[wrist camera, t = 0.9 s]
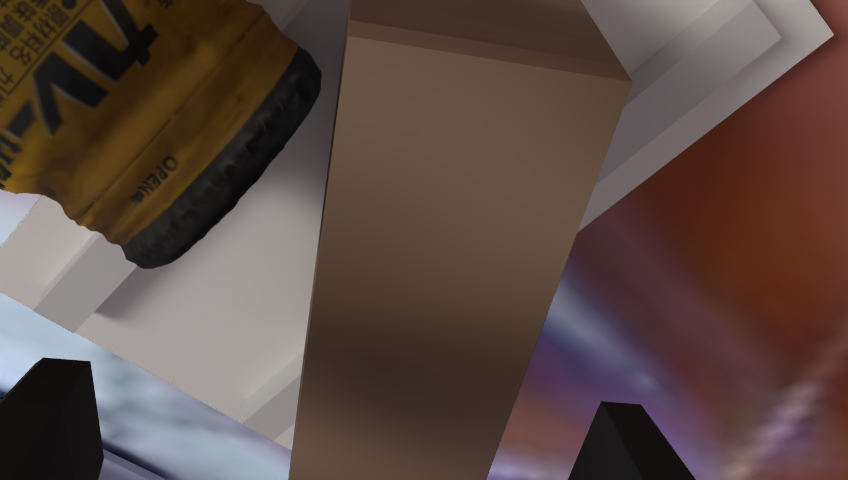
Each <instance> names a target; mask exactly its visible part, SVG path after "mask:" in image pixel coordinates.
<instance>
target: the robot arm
mask: <svg viewBox="0 0 848 480" xmlns="http://www.w3.org/2000/svg"><path fill="white" fill-rule="evenodd" d="M0 480H165V479H164V478H162V477H160V476H158V475H156V474H154V473H152V472H150V471H148V470H146V469H144V468H141V467H139V466H137V465H135V464H133V463H131V462H129V461H127V460H125V459H123V458H121V457H119V456H116V455H114V454H112V453H110V452H108V451H106V450H104V449H103V447H102V440H101V433H100V426H99V419H98V412H97V405H96V398H95V391H94V384H93V377H92V370H91V362H90V361H78V360H66V359H53V358H42V359H41V360H40V361H38V362H37V363H35V364H34V366H33V367H32V368H31V369H30V370H29V371H28V372H27V373H26V374H25V375H24V376H23V377H22V378H21V379H20V380H19V381H18V382H17V384H16V385H15V386H14V387H13V388H12V389H11V390H10V391H9V392H8V393H7V394H6V395H5V396H4V397H3V398H2V399H1V400H0ZM568 480H696V479H695V478H694V476H693V475H692V474H691V472H690V471H689V470H688V468H687V467H686V466H685V464H684V463H683V462H682V460H681V459H680V457H679V456H678V455H677V453H676V452H675V451H674V449H673V448H672V446H671V445H670V444H669V442H668V441H667V440H666V438H665V437H664V435H663V434H662V433H661V431H660V430H659V429H658V427H657V426H656V425H655V423H654V422H653V420H652V419H651V418H650V416H649V415H648V414H647V412H646V411H645V410H644V408H643V407H642V406H641V405H640V404H627V403H615V402H602V401H601V403H600V405H599V407H598V410H597V412H596V414H595V417H594V419H593V422H592V424H591V426H590V429H589V431H588V433H587V436H586V438H585V440H584V443H583V445H582V448H581V450H580V452H579V455H578V457H577V459H576V462H575V464H574V466H573V469H572V471H571V474H570V476H569V478H568Z"/></svg>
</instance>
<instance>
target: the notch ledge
mask: <svg viewBox="0 0 848 480" xmlns="http://www.w3.org/2000/svg"><path fill="white" fill-rule="evenodd" d="M246 1H248V2H251V3H254V4H260V5H261V6H262V7H263V8H264V10H265V11H266V12H267V13H269V14H270V17H271V19H272V21H273V22H274V24H275V25H276V26H277V27H278V28H279V30H280V31H281V32H282V33H283V34H284V35H285V36H287V37H288V38H290V39H291V40H293V41H295V42H296V43H297V44H298V45H299V46H300V47H301V48H303V49H305V50H306V51H308V52H309V53H310V54H311V56H312V58H313V59H314V62H315V63H316V65H317V66H318V68H319V69H320V70H321V74H322V79H321V90H320V94H319V96H318V98H317V99H316V102H315V104H314V106H313V107H312V109H311V110H310V112H309V114H308V115H307V116H306V118H305V120H304V121H303V122H302V124H301V125H300V126H299V127H298V129H297V131H296V132H295V133H294V134H293V136H292V137H291V139H290V140H289V141H288V142H287V143H286V145H285V147H284V149H283V150H282V151H281V152H280V153H279V154H278V155H277V156H276V158H275V159H274V160H272V162H271V163H270V164H269V165H268V167H267V168H266V170H265V171H264V173H263V174H262V176H261V177H260V178H259V180H258V181H257V182H256V183H255V184H254V185H252V186H251V187H250V188H249V189H248V190H247V192H246V193H245V194H244V195H243V196H242V197H241V198H240V199H239V201H238V203H237V205H236V206H235V207H234V209H233V210H231V211H230V212H229V213H228V214H227V215H226V216H225V217H224V218H223V219H221V220H220V222H219V223H218V224H216V225H215V226H214V227H213V228H212V229H211V230H210V231H209V232H208V233H207V234H206V236H205V237H204V238H203V239H201V240H199V241H198V242H197V243H196V244H195V245H194V246H192V247H191V249H190V250H189V251H187V252H186V253H185V254H183V255H182V256H181V257H180V258H178V259H177V260H175V261H174V262H172V263H170V264H167V265H164V266H162V267H157V268H154V269H142V268H140V267H138V266H137V265H136V264H135V263H132V262H130V261H128V260H126V258H125V254H124V252H123V250H122V248H121V246H120V245H117V244H112V243H109V242H108V241H107V240H106V239H105V237H104V236H103V234H101V233H99V232H96V231H90V230H88V229H87V228H86V227H84V226H78V225H77V224H76V222H75V221H74V220H70V219H69V218H68V217H67V216H66V215H65V213H64V211H63V208H62V206H61V205H60V204H59V203H58V202H56V201H54V200H52V199H50V198H48V197H46V196H44V195H42V197H41V198H40V199H39V200H38V201H37V203H36V204H35V205H34V206H33V208H32V209H31V210H30V211H29V213H28V214H27V215H26V216H25V217H24V219H23V220H22V221H21V222H20V224H19V225H18V226H17V227H16V229H15V230H14V231H13V232H12V233H11V235H10V236H9V237H8V238H7V240H6V241H5V242H4V243H3V245H2V246H1V247H0V292H1V293H3V294H5V295H7V296H9V297H11V298H12V299H14V300H16V301H18V302H20V303H22V304H23V305H25V306H27V307H29V308H31V309H33V311H34V312H36V313H38V314H40V315H41V316H43V317H45V318H47V319H49V320H51V321H52V322H54V323H56V324H58V325H60V326H62V327H63V328H65V329H67V330H69V331H71V332H73V333H74V332H75V333H77V334H78V335H80V336H82V337H84V338H86V339H88V340H89V341H91V342H93V343H95V344H97V345H99V346H101V347H102V348H104V349H106V350H108V351H110V352H112V353H113V354H115V355H117V356H119V357H121V358H123V359H124V360H126V361H128V362H130V363H132V364H134V365H135V366H137V367H139V368H141V369H143V370H145V371H146V372H148V373H150V374H152V375H154V376H156V377H157V378H159V379H161V380H163V381H165V382H167V383H168V384H170V385H172V386H174V387H176V388H178V389H179V390H181V391H183V392H185V393H187V394H189V395H191V396H192V397H194V398H196V399H198V400H200V401H202V402H203V403H205V404H207V405H209V406H211V407H213V408H214V409H216V410H218V411H220V412H222V413H224V414H225V415H227V416H229V417H231V418H233V419H235V420H236V421H238V422H240V423H241V424H242V425H244V426H246V427H247V428H249V429H251V430H253V431H255V432H257V433H258V434H260V435H262V436H264V437H266V438H268V439H269V440H271V441H275V442H277V443H279V444H281V445H282V446H284V447H286V448H288V449H290V450H292V446H293V438H294V429H295V421H296V413H297V404H298V396H299V388H300V380H301V371H302V363H303V355H304V347H305V340H306V332H307V324H308V316H309V309H310V301H311V293H312V286H313V278H314V270H315V263H316V255H317V247H318V240H319V232H320V224H321V217H322V209H323V201H324V193H325V186H326V178H327V170H328V163H329V155H330V147H331V140H332V132H333V124H334V117H335V109H336V101H337V94H338V86H339V78H340V70H341V63H342V55H343V47H344V40H345V32H346V24H347V17H348V9H349V1H350V0H246ZM581 1H582V3H583V5H584V6H585V8H586V9H587V11H588V12H589V14H590V16H591V17H592V19H593V20H594V22H595V23H596V25H597V27H598V28H599V30H600V31H601V33H602V34H603V36H604V38H605V39H606V41H607V42H608V44H609V45H610V47H611V49H612V50H613V52H614V53H615V55H616V56H617V58H618V60H619V61H620V63H621V64H622V66H623V67H624V69H625V71H626V72H627V74H628V75H629V77H630V78H631V80H632V82H633V83H632V86H631V89H630V91H629V94H628V97H627V100H626V102H625V105H624V108H623V110H622V113H621V116H620V119H619V121H618V124H617V127H616V129H615V132H614V135H613V137H612V140H611V143H610V146H609V148H608V151H607V154H606V156H605V159H604V162H603V165H602V167H601V170H600V173H599V175H598V178H597V181H596V183H595V186H594V189H593V192H592V194H591V197H590V200H589V202H588V205H587V208H586V211H585V213H584V216H583V219H582V221H581V224H580V227H579V230H578V232H579V231H580V230H581V229H583V228H584V227H585V226H586V225H588V224H589V223H590V222H592V221H593V220H594V219H596V218H597V217H598V216H599V215H601V214H602V213H603V212H605V211H606V210H607V209H609V208H610V207H611V206H612V205H614V204H615V203H616V202H618V201H619V200H620V199H622V198H623V197H624V196H625V195H627V194H628V193H629V192H631V191H632V190H633V189H635V188H636V187H637V186H638V185H640V184H641V183H642V182H644V181H645V180H646V179H648V178H649V177H650V176H651V175H653V174H654V173H655V172H657V171H658V170H659V169H661V168H662V167H663V166H664V165H666V164H667V163H668V162H670V161H671V160H672V159H674V158H675V157H676V156H677V155H679V154H680V153H681V152H683V151H684V150H685V149H687V148H688V147H689V146H690V145H692V144H693V143H694V142H696V141H697V140H698V139H699V138H701V137H702V136H703V135H705V134H706V133H707V132H709V131H710V130H711V129H712V128H714V127H715V126H716V125H718V124H719V123H720V122H722V121H723V120H724V119H725V118H727V117H728V116H729V115H731V114H732V113H733V112H735V111H736V110H737V109H738V108H740V107H741V106H742V105H744V104H745V103H746V102H748V101H749V100H750V99H751V98H753V97H754V96H755V95H757V94H758V93H759V92H761V91H762V90H763V89H764V88H766V87H767V86H768V85H770V84H771V83H772V82H774V81H775V80H776V79H777V78H779V77H780V76H781V75H783V74H784V73H785V72H787V71H788V70H789V69H790V68H792V67H793V66H794V65H796V64H797V63H798V62H800V61H801V60H802V59H803V58H805V57H806V56H807V55H809V54H810V53H811V52H813V51H814V50H815V49H816V48H818V47H819V46H820V45H822V44H823V43H824V42H826V41H827V40H828V39H829V38H831V37H832V36H833V35H834V34H833V32H832V31H831V30H830V28H829V27H828V25H827V24H826V23H825V21H824V20H823V18H822V17H821V16H820V14H819V13H818V11H817V10H816V9H815V7H814V6H813V4H812V3H811V2H810V0H581Z"/></svg>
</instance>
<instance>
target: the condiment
mask: <svg viewBox="0 0 848 480" xmlns="http://www.w3.org/2000/svg"><path fill="white" fill-rule="evenodd" d="M321 79H322V74H321V70H320V69H319V68H318V66H317V65H316V63H315V62H314V59H313V58H312V56H311V54H310V53H309V52H308V51H306V50H305V49H303V48H301V47H300V46H299V45H298V44H297V43H296V42H295V41H293V40H291V39H290V38H288V37H287V36H285V35H284V34H283V33H282V32H281V31H280V30H279V28H278V27H277V26H276V25H275V24H274V22H273V21H272V19H271V17H270V14H269V13H267V12H266V11H265V10H264V8H263V7H262V6H261V5H260V4H254V3H251V2H248V1H246V0H0V189H2V190H5V191H8V192H12V193H15V194H18V193H31V194H41V195H44V196H46V197H48V198H50V199H52V200H54V201H56V202H58V203H59V204H60V205H61V206H62V208H63V211H64V213H65V215H66V216H67V217H68V218H69V219H70V220H74V221H75V222H76V224H77V225H78V226H84V227H86V228H87V229H88V230H90V231H96V232H99V233H101V234H103V236H104V237H105V239H106V240H107V241H108V242H109V243H112V244H117V245H120V246H121V248H122V250H123V252H124V254H125V258H126V260H128V261H130V262H132V263H135V264H136V265H137V266H138V267H140V268H142V269H154V268H157V267H162V266H164V265H167V264H170V263H172V262H174V261H175V260H177V259H178V258H180V257H181V256H182V255H183V254H185V253H186V252H187V251H189V250H190V249H191V247H192V246H194V245H195V244H196V243H197V242H198V241H199V240H201V239H203V238H204V237H205V236H206V234H207V233H208V232H209V231H210V230H211V229H212V228H213V227H214V226H215V225H216V224H218V223H219V222H220V220H221V219H223V218H224V217H225V216H226V215H227V214H228V213H229V212H230V211H231V210H233V209H234V207H235V206H236V205H237V203H238V201H239V199H240V198H241V197H242V196H243V195H244V194H245V193H246V192H247V190H248V189H249V188H250V187H251V186H252V185H254V184H255V183H256V182H257V181H258V180H259V178H260V177H261V176H262V174H263V173H264V171H265V170H266V168H267V167H268V165H269V164H270V163H271V162H272V160H274V159H275V158H276V156H277V155H278V154H279V153H280V152H281V151H282V150H283V149H284V147H285V145H286V143H287V142H288V141H289V140H290V139H291V137H292V136H293V134H294V133H295V132H296V131H297V129H298V127H299V126H300V125H301V124H302V122H303V121H304V120H305V118H306V116H307V115H308V114H309V112H310V110H311V109H312V107H313V106H314V104H315V102H316V99H317V98H318V96H319V94H320V90H321Z"/></svg>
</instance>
